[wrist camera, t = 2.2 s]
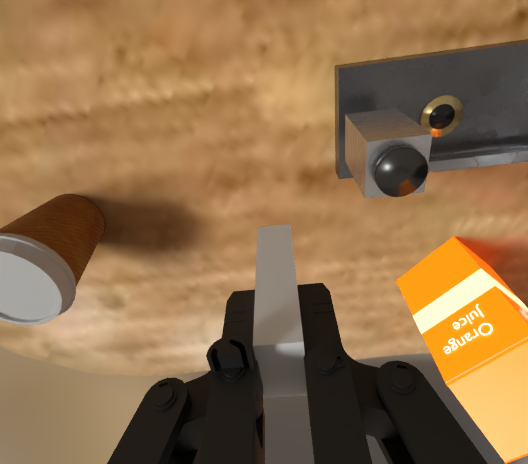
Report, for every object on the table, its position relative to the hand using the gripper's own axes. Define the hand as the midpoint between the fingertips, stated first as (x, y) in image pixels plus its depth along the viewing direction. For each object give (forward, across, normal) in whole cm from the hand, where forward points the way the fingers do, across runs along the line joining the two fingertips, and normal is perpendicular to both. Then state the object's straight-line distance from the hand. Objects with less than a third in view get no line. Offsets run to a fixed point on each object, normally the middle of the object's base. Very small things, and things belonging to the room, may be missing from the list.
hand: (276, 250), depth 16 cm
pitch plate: (+20, -20, 0) cm, 28 cm away
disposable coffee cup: (+20, +23, +7) cm, 32 cm away
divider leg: (+17, -8, 0) cm, 19 cm away
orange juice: (+20, -20, +21) cm, 35 cm away
